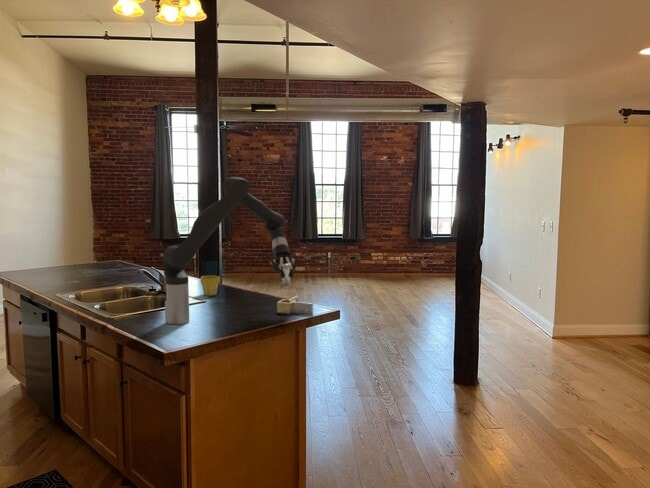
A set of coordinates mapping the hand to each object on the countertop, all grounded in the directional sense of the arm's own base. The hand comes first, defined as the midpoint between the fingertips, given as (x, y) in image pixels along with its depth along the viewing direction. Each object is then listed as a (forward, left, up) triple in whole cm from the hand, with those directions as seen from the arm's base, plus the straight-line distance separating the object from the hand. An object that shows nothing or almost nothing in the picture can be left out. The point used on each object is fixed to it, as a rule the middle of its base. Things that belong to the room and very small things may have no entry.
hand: (287, 277), depth 227 cm
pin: (-1, +2, -4) cm, 4 cm away
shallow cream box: (+4, +7, -17) cm, 19 cm away
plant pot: (-57, +23, -17) cm, 64 cm away
